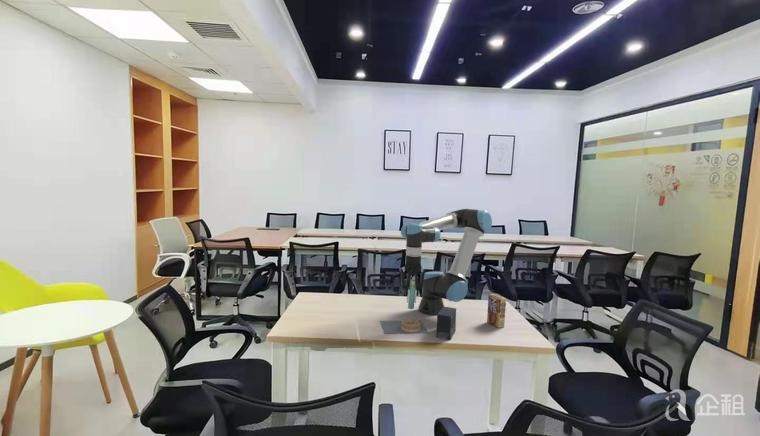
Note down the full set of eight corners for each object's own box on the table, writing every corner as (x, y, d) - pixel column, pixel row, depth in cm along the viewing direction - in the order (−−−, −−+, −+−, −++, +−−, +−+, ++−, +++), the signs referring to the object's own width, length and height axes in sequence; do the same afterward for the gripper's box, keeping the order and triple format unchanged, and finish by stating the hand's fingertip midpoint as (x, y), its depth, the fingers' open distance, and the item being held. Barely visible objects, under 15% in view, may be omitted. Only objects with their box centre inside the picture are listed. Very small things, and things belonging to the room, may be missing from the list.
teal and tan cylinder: (413, 307, 175) (414, 279, 174) (414, 309, 172) (415, 281, 171) (407, 307, 174) (408, 279, 174) (408, 309, 172) (410, 281, 171)
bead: (417, 325, 179) (417, 319, 179) (421, 332, 170) (422, 326, 170) (399, 325, 178) (400, 319, 178) (403, 332, 169) (403, 326, 169)
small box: (442, 329, 177) (443, 305, 176) (455, 331, 174) (456, 308, 173) (435, 338, 165) (437, 313, 164) (450, 341, 162) (451, 316, 161)
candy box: (505, 327, 182) (506, 298, 181) (498, 328, 180) (500, 299, 179) (492, 321, 190) (494, 293, 189) (486, 322, 188) (488, 294, 187)
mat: (420, 321, 186) (420, 320, 186) (429, 334, 169) (429, 333, 169) (379, 322, 183) (379, 320, 183) (384, 335, 167) (384, 334, 166)
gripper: (427, 254, 176) (424, 300, 178) (396, 253, 174) (394, 299, 176) (431, 256, 169) (428, 304, 170) (398, 256, 167) (396, 304, 168)
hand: (411, 302), depth 173 cm, fingers closed on teal and tan cylinder, 3 cm apart
